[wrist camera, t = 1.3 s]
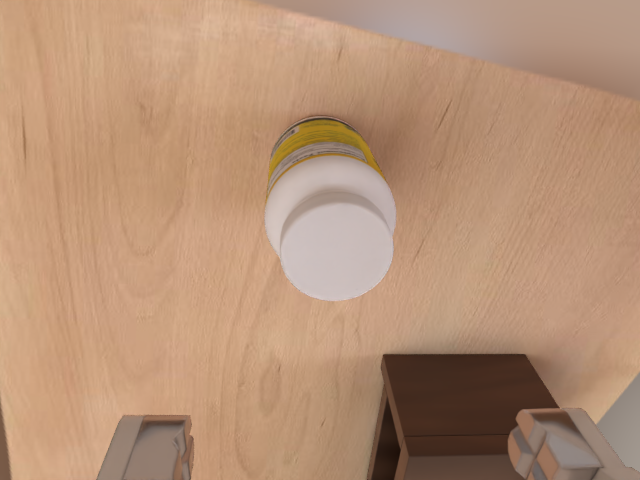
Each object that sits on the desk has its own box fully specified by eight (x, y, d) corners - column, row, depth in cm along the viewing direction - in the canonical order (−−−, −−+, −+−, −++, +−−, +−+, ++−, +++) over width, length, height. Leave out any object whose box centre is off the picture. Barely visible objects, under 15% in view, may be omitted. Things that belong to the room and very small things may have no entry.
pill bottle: (360, 212, 29) (395, 321, 20) (266, 203, 29) (255, 312, 19) (378, 118, 26) (430, 194, 17) (274, 106, 26) (265, 178, 16)
